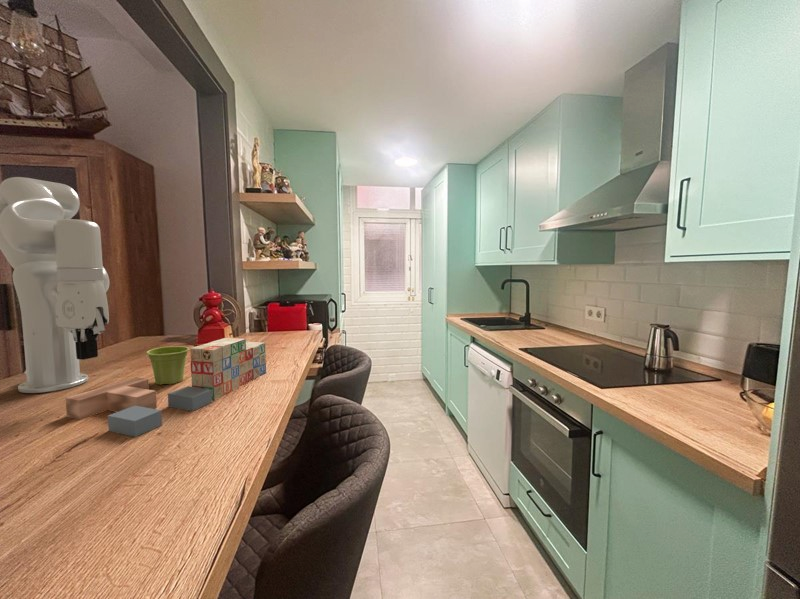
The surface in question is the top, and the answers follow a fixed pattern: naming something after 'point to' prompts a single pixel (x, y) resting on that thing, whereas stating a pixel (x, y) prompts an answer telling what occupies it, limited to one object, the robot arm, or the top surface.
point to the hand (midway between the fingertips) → (87, 357)
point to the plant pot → (168, 363)
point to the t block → (112, 398)
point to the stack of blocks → (226, 364)
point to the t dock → (156, 411)
